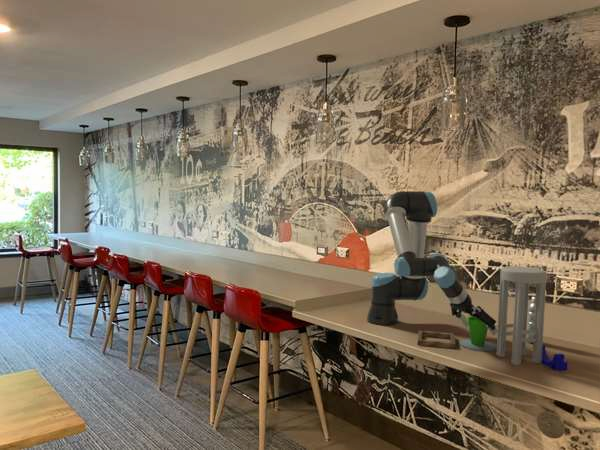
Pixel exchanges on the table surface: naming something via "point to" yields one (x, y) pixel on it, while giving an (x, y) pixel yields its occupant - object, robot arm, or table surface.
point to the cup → (477, 331)
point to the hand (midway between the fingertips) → (481, 329)
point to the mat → (486, 347)
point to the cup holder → (436, 343)
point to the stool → (521, 311)
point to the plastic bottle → (531, 317)
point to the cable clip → (554, 361)
